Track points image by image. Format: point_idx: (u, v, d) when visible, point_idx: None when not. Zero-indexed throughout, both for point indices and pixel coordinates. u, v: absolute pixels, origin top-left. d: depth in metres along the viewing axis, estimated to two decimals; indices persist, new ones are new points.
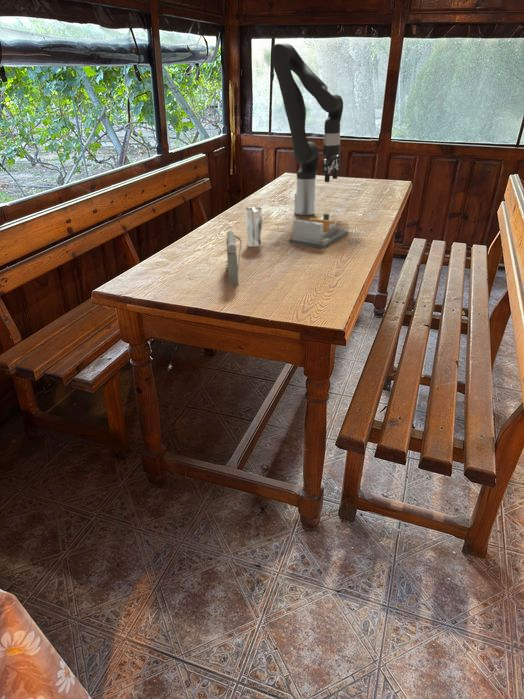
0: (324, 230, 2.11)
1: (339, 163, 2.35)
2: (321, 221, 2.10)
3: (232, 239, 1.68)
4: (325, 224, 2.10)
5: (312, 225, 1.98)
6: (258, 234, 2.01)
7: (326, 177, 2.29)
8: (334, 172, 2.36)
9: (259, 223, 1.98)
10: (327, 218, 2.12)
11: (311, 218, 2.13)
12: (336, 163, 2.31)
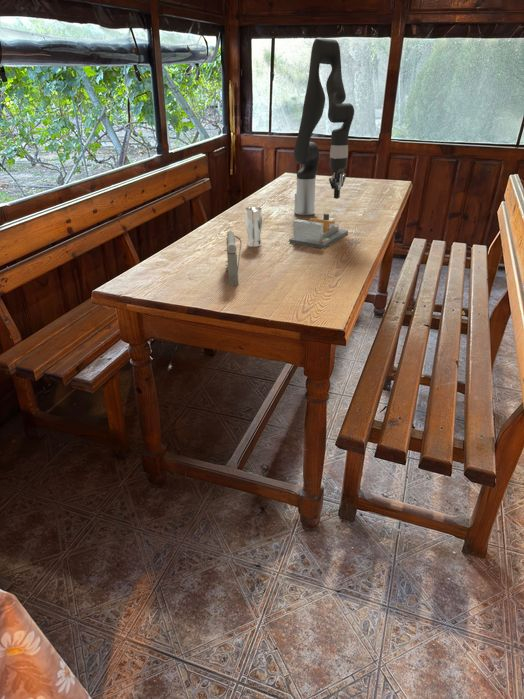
0: (324, 230, 2.11)
1: (343, 181, 2.16)
2: (321, 221, 2.10)
3: (232, 239, 1.68)
4: (325, 224, 2.10)
5: (312, 225, 1.98)
6: (258, 234, 2.01)
7: (335, 193, 2.14)
8: None
9: (259, 223, 1.98)
10: (327, 218, 2.12)
11: (311, 218, 2.13)
12: (342, 178, 2.12)
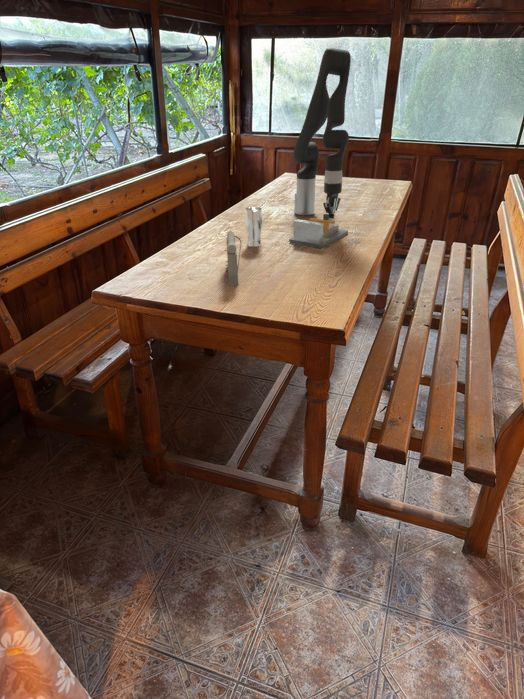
0: (324, 230, 2.11)
1: (337, 205, 2.17)
2: (321, 221, 2.10)
3: (232, 239, 1.68)
4: (325, 224, 2.10)
5: (312, 225, 1.98)
6: (258, 234, 2.01)
7: (330, 217, 2.16)
8: None
9: (259, 223, 1.98)
10: (327, 218, 2.12)
11: (311, 218, 2.13)
12: (336, 202, 2.13)
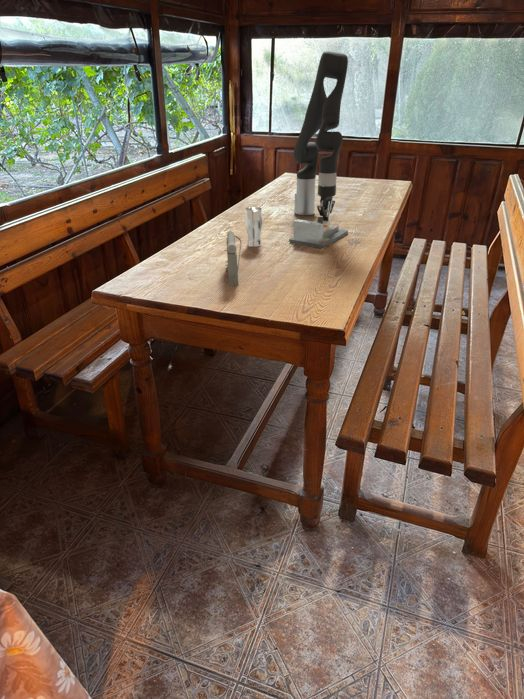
0: None
1: (332, 208, 2.13)
2: None
3: (232, 239, 1.68)
4: None
5: (312, 225, 1.98)
6: (258, 234, 2.01)
7: (324, 220, 2.12)
8: None
9: (259, 223, 1.98)
10: (321, 221, 2.08)
11: None
12: (330, 205, 2.10)
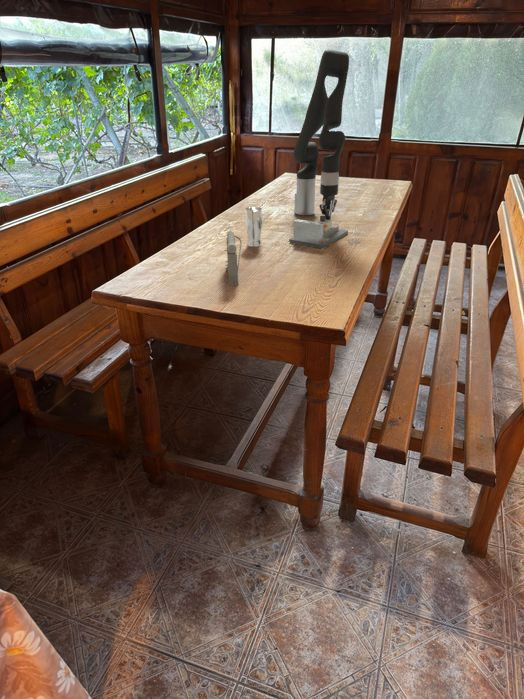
0: None
1: (334, 207, 2.15)
2: None
3: (232, 239, 1.68)
4: None
5: (312, 225, 1.98)
6: (258, 234, 2.01)
7: (326, 219, 2.14)
8: None
9: (259, 223, 1.98)
10: (324, 220, 2.10)
11: None
12: (332, 204, 2.11)
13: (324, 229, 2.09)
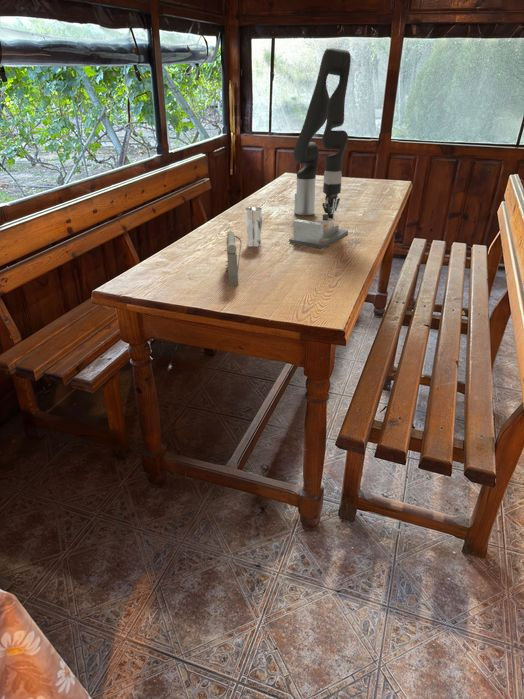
0: None
1: (337, 206, 2.17)
2: None
3: (232, 239, 1.68)
4: None
5: (312, 225, 1.98)
6: (258, 234, 2.01)
7: (329, 217, 2.16)
8: None
9: (259, 223, 1.98)
10: (326, 218, 2.12)
11: None
12: (335, 202, 2.14)
13: (327, 228, 2.11)
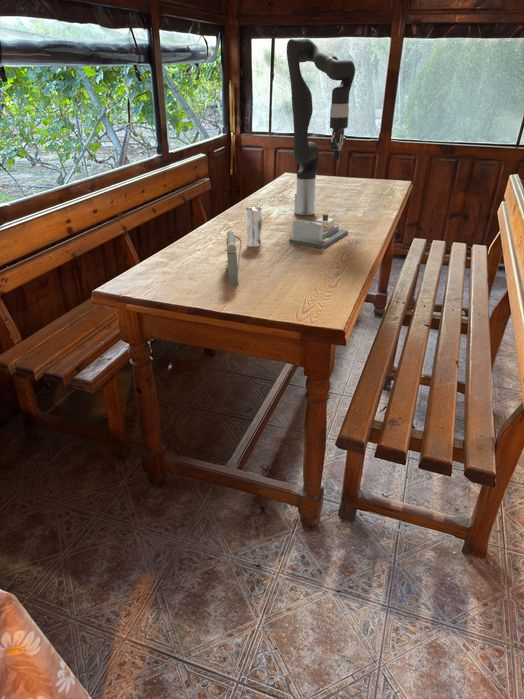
0: None
1: (343, 143, 2.13)
2: None
3: (232, 239, 1.68)
4: None
5: (312, 225, 1.98)
6: (258, 234, 2.01)
7: (336, 154, 2.12)
8: None
9: (259, 223, 1.98)
10: (326, 218, 2.12)
11: None
12: (342, 138, 2.10)
13: (327, 228, 2.11)
